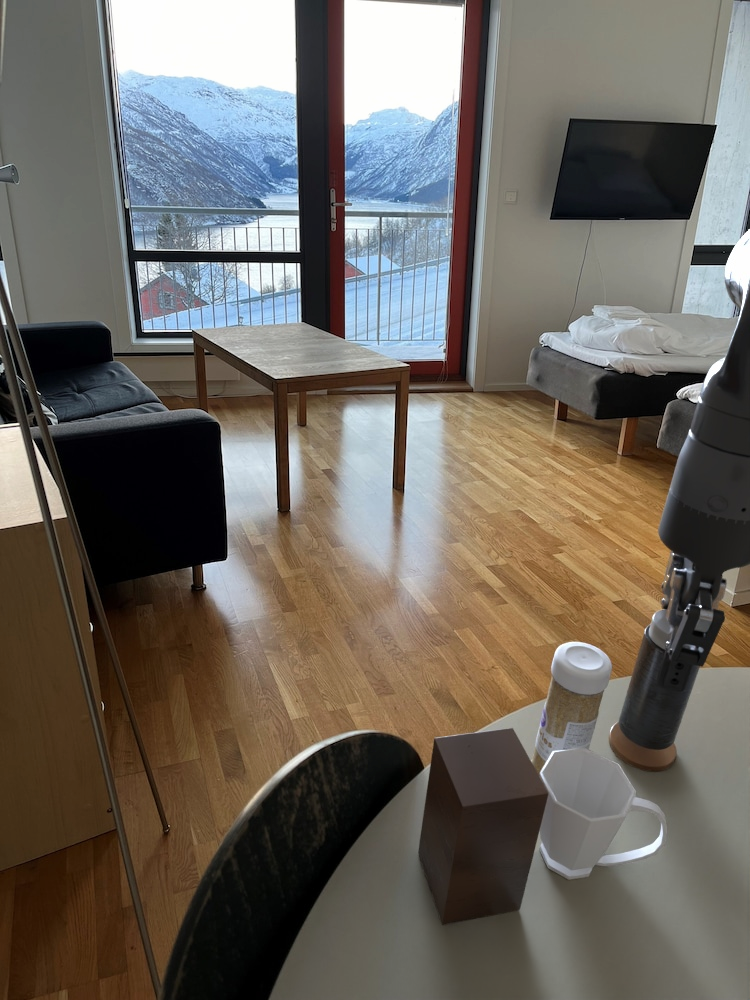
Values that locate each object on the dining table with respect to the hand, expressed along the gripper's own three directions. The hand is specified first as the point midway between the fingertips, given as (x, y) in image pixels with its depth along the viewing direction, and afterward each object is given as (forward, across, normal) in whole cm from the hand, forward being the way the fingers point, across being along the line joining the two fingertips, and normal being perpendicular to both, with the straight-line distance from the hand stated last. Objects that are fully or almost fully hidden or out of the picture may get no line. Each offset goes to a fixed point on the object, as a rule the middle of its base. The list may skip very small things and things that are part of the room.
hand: (667, 665), depth 65 cm
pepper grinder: (+7, 0, 0) cm, 7 cm away
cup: (+10, -14, +5) cm, 18 cm away
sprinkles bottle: (+10, -7, +8) cm, 14 cm away
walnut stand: (+10, -19, +13) cm, 25 cm away
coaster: (+10, 0, 0) cm, 10 cm away
